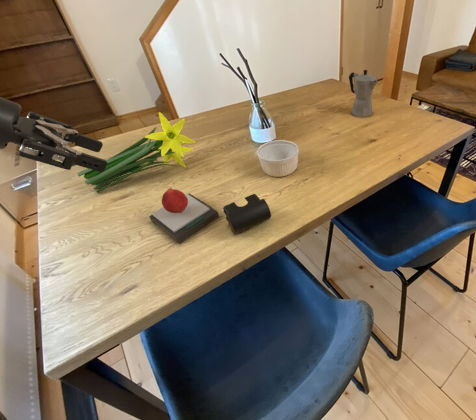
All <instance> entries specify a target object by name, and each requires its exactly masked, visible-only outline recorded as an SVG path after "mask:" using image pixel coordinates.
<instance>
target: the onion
mask: <svg viewBox="0 0 476 420" xmlns="http://www.w3.org/2000/svg"><path fill="white" fill-rule="evenodd" d="M161 205H162V208H163V207H164V209H165V210H166V211H168V212H171V213H181V212H183V210H185V208H186V207H187V205H188V199H187V197H186V194H185V193H184V192H183V191H181V190H178V189H175V188H172V187H168V188H167V189H166V191H165V192H164V193H163V194H162V196H161Z"/></svg>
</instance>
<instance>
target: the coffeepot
mask: <svg viewBox="0 0 476 420" xmlns="http://www.w3.org/2000/svg"><path fill="white" fill-rule="evenodd" d="M362 71H363V73H362V74H359V73H356V72H352V71H351V73H350V74H349V75H348V81H349V86H350V91H351V93H353V94H355V98H354V100H353V103H352V109H351V114H352V115H353V116H355V117H357V118H367V117H370V116H372V114H373V102H372V100H373V99H372V95H373V93H374V89H375V86H376V85H377V84H378V83H379V81H378V80H377V76H375V75H373V74H368V70H367V69H363V70H362Z"/></svg>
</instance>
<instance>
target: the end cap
mask: <svg viewBox="0 0 476 420" xmlns="http://www.w3.org/2000/svg"><path fill="white" fill-rule="evenodd" d="M244 199H245V201H246V202H247V203H246V204H245V205H242V206H239V205H237V203H236V202H234V201H233V202H230V203H228V204H226V205H224V206H223V207H222V209H223V213H224V215H225V220H226V221H227V222H228V225H229V227H230V230H231V232H232V234H233V235H238V234H239V233H240V234H241V233H242V232H243V231H246V230H248V229H251V228H253V227H255V226H257V225H259V224H261V223H263V222H265V221H268V220H269V219H271V218H272V212H271V209H270V206H269V204H268V203H267V201H266V200H265V198H262V199H260V197H259V196H258V195H257V194H256V193H252V194H250V195H248V196H245V197H244Z"/></svg>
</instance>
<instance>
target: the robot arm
mask: <svg viewBox="0 0 476 420" xmlns="http://www.w3.org/2000/svg"><path fill="white" fill-rule="evenodd" d="M22 108H23V107H22V105H21V104H19V103H17V102H15V101H12V100H10V99H7V98H5V97H2V96H0V150H4V149H6V148H7V146H8V144H9V143H13V144H14V145H16V146H19V149H18V151H17V153H16V154H17V155H18V156H19V157H22V158H25V159H28V160H32V161H36V162H39V163H42V164H45V165H49V166H52V167H57V168H58V169H59V168H60V169H64V170H67V171H71V169H72V168H73V167H76V166H78V167H80V168H81V167H82V168H85V169H92V170H95V171H99V172H103V171H104V170H105V168H106V166H107V161H106V160H107V159H104V158H100V157H98V156H94V155H92V154H88V153H85V152H80V150H79V151H78V150H77V149H75V148H73V147H71V146H70V145H73V144H74V146H76V147H79V148H82V149H85V150H88V151H90V152H91V151H92V152H94V153H100V151H101V150H102V149H103V146H104V145H103V141H101V140H98V139H96V138H93V137H90V136H87V135H85V134H81V133H79V131H78V130H76V129H74V128H75V127H74V126H73V125H72V124H68V123H65V122H62V121H59V120H57V119H54V118H52V117H49V116H46V115H42V114H39V113H37V112H34V111H28V114H27V115H26V116H22V115H21V112H22ZM0 420H8V418H7V417H6V416H5V415H4V413H3V412H2V411H1V410H0Z"/></svg>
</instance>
